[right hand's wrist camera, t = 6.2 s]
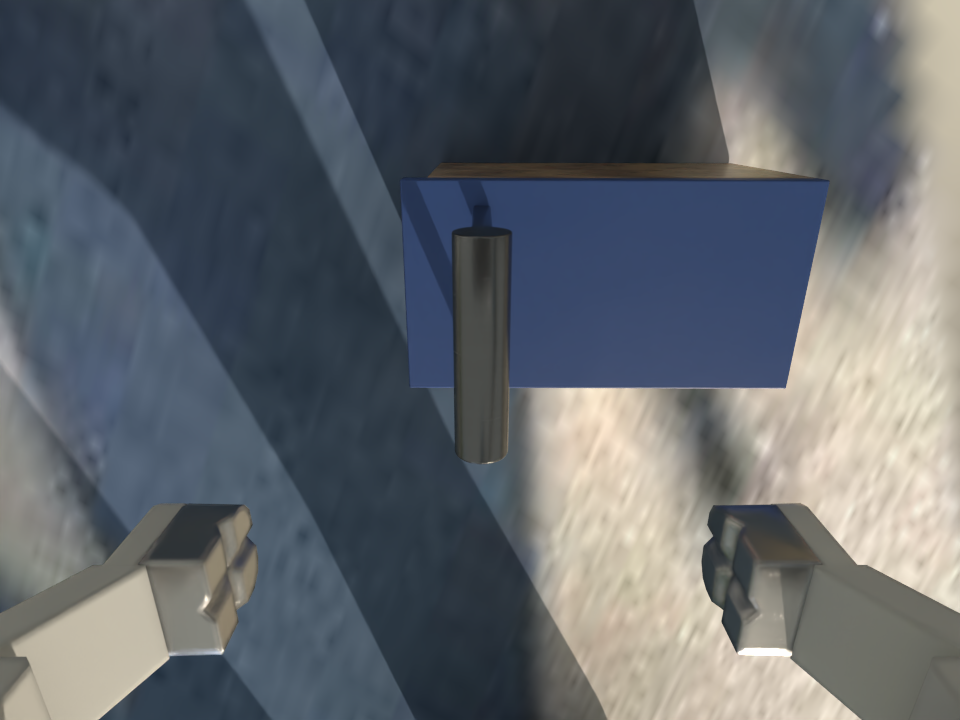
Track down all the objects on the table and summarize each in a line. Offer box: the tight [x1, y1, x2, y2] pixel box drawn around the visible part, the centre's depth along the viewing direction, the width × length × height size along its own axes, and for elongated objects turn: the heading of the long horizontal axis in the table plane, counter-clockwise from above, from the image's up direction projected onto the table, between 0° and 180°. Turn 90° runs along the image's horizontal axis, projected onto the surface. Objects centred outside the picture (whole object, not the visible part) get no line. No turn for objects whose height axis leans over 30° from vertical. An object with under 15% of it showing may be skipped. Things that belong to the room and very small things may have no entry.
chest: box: [427, 163, 812, 178], centre depth 31 cm, size 16×9×9 cm, turn 90°
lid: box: [400, 177, 829, 464], centre depth 22 cm, size 17×9×9 cm, turn 90°
